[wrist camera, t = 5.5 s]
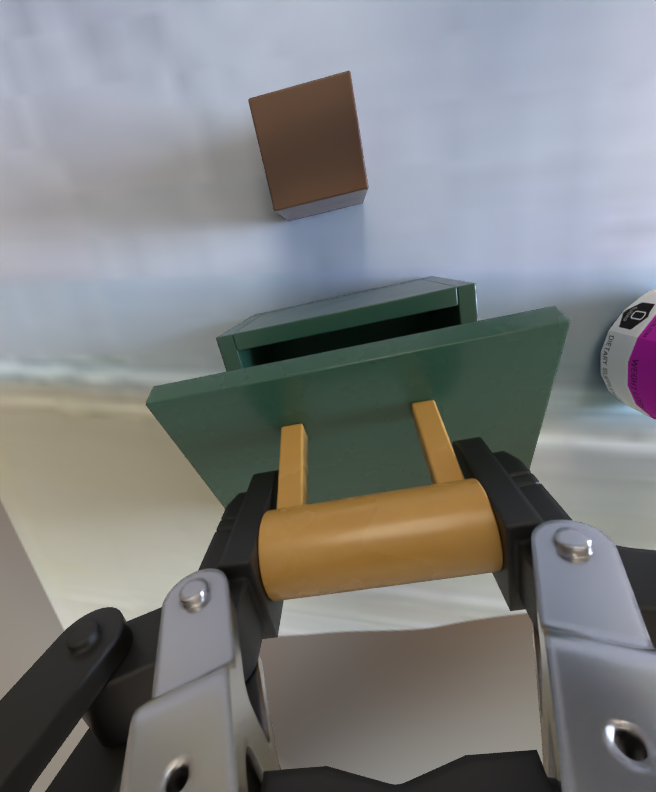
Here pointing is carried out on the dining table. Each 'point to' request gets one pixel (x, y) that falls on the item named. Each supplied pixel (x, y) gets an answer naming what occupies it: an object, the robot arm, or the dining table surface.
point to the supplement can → (633, 356)
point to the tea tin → (349, 321)
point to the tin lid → (372, 449)
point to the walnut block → (311, 146)
